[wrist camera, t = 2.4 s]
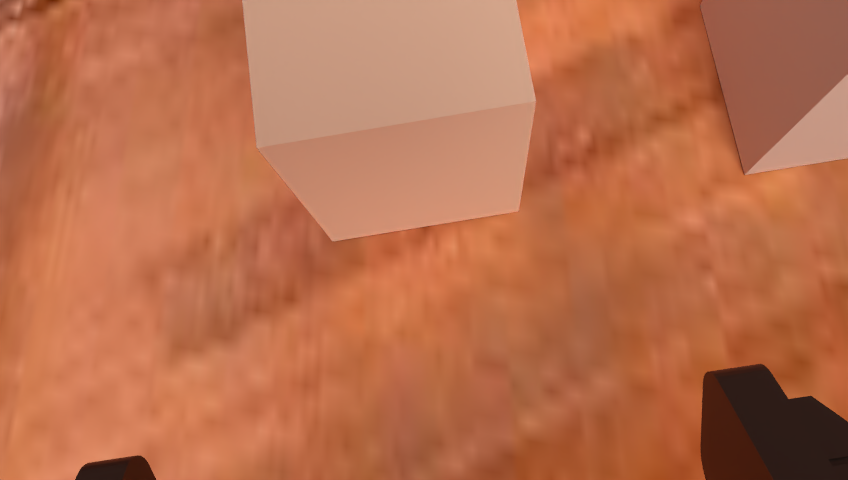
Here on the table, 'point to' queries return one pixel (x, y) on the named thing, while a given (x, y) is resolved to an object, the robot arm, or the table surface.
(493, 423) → the table surface
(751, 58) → the grey cover
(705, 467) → the robot arm
